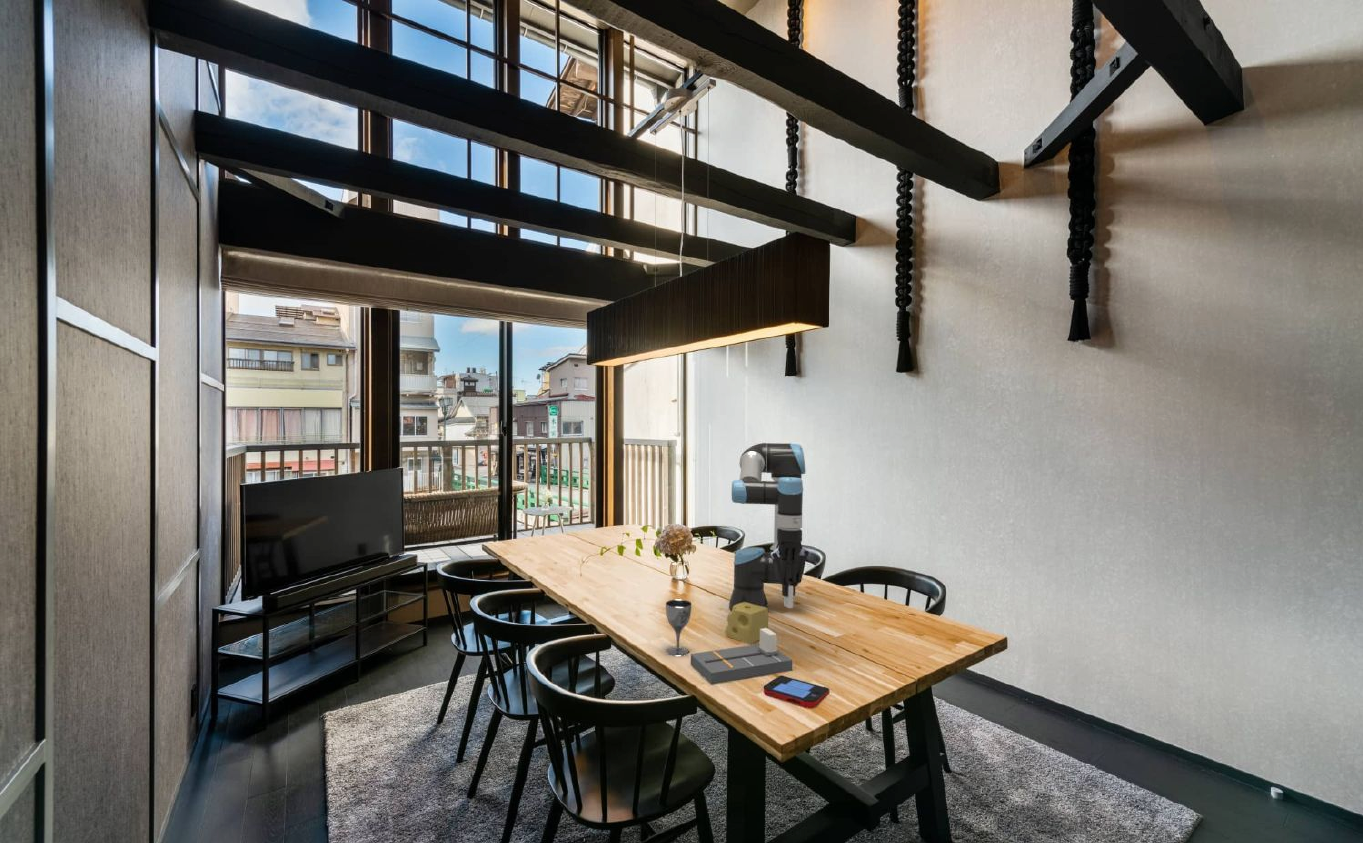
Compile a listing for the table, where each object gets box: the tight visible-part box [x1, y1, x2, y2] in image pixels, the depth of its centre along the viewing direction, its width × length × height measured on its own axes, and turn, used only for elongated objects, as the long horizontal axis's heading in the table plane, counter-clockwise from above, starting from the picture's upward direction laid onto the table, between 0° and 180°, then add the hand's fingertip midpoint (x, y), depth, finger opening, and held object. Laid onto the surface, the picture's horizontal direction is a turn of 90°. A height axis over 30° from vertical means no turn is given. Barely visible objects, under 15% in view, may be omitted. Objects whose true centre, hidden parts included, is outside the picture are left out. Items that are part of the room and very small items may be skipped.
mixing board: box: [690, 643, 794, 685], centre depth 163 cm, size 26×14×3 cm, turn 113°
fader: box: [758, 627, 779, 656], centre depth 166 cm, size 4×6×6 cm
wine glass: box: [665, 598, 692, 657], centre depth 174 cm, size 8×8×15 cm
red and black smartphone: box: [763, 674, 830, 709], centre depth 148 cm, size 14×13×2 cm
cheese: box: [725, 602, 769, 645], centre depth 188 cm, size 10×11×10 cm
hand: (788, 606), depth 169 cm, fingers closed
